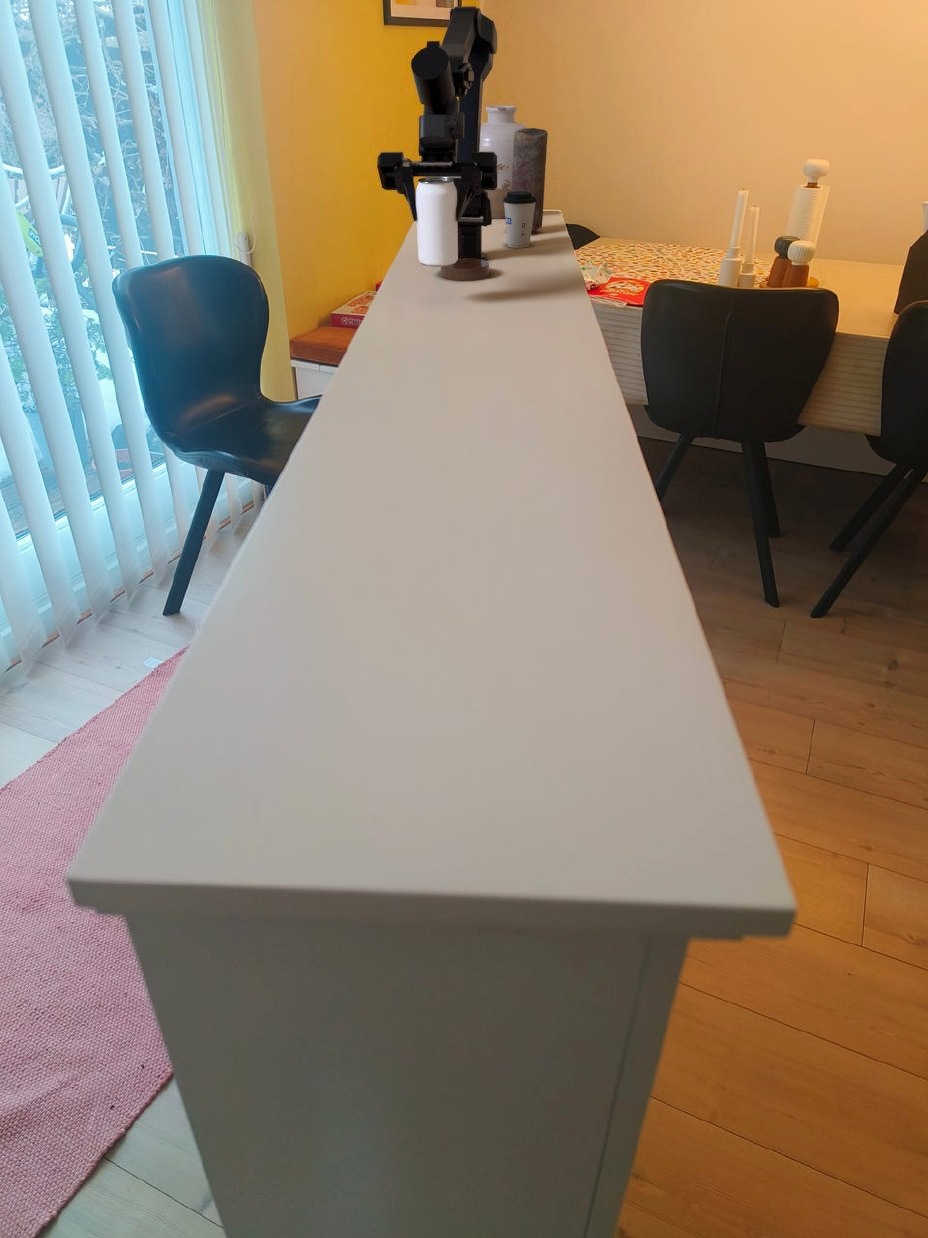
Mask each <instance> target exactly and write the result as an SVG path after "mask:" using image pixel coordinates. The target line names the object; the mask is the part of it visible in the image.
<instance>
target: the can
mask: <svg viewBox="0 0 928 1238" xmlns="http://www.w3.org/2000/svg"><path fill="white" fill-rule="evenodd" d="M417 183H418V184H417V187H416V188H415V191H416V216H417V220H416V237H417V238H416V240H417V260H418V262H419V263H420V264H421V265H422V266H425V267H433V268H441V267H443V266H450V265H453V264H455V263H456V261H457V260H458V223H457V221H456V207H457V190H456V187H455V185H454V179H453V178H448V177H420V178H418V179H417Z"/></svg>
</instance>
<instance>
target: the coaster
mask: <svg viewBox="0 0 928 1238" xmlns="http://www.w3.org/2000/svg"><path fill="white" fill-rule="evenodd" d="M440 276H441V277H442V278H443V279H446V280H451V281H461V282H462V281H463V282H464V281H465V282H466V281H467V282H468V281H469V282H470V281H478V280H482V279H486V278H487V277H489V276H490V262H489V261H488V260H486V259H485V260H481V259H475V258H458V260H457V261H456V263H455V264H453V265H450V266H443V267H440Z"/></svg>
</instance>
